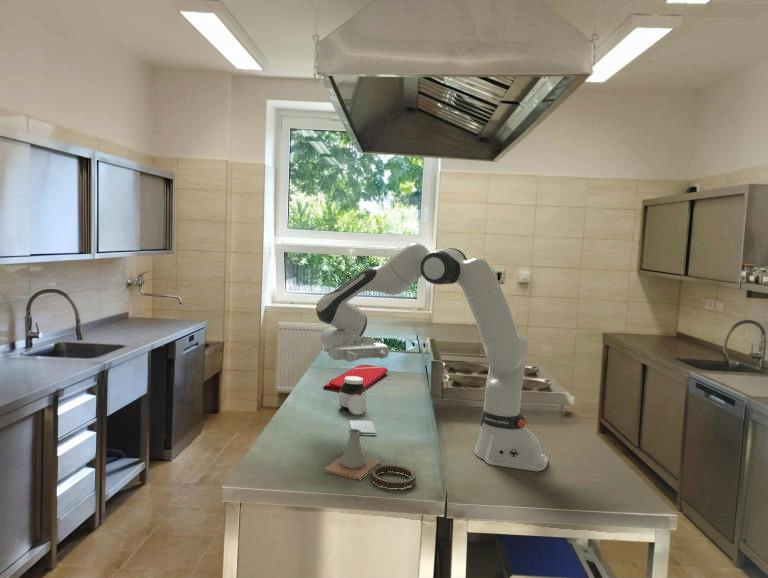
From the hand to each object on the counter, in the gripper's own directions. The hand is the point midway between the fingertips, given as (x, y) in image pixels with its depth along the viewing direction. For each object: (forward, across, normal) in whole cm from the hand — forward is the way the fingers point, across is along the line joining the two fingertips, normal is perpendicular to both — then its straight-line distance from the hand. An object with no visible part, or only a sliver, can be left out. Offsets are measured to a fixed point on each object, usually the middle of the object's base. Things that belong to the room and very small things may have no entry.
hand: (370, 356), depth 192 cm
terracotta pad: (+16, -12, +28) cm, 34 cm away
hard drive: (-12, +6, +29) cm, 32 cm away
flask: (+16, -13, +27) cm, 34 cm away
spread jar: (-32, +14, +28) cm, 45 cm away
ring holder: (+27, -6, +28) cm, 40 cm away
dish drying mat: (-69, +36, +29) cm, 83 cm away
